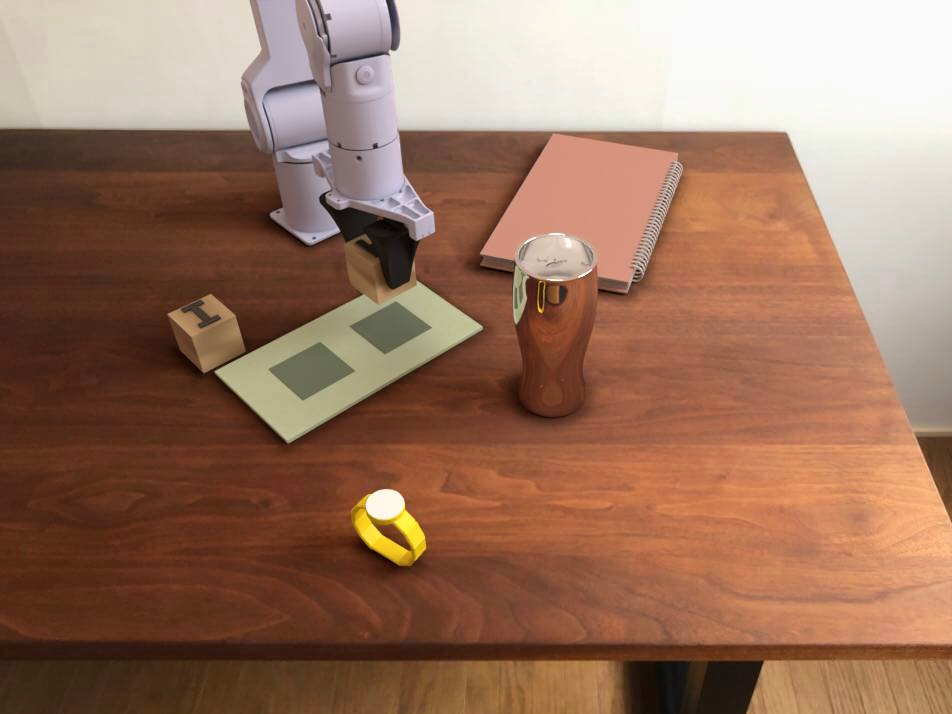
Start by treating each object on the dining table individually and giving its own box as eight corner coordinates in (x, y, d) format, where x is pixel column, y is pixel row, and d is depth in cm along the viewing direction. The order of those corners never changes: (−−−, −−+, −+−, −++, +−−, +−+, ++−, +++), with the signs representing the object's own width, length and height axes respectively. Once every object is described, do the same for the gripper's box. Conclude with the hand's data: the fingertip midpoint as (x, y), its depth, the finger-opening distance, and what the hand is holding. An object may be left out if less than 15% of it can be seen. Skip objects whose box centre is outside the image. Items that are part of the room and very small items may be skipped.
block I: (222, 330, 86) (210, 291, 83) (246, 351, 84) (235, 313, 81) (180, 350, 84) (166, 312, 81) (203, 373, 82) (190, 335, 78)
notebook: (637, 297, 90) (638, 281, 89) (480, 267, 94) (479, 251, 92) (685, 167, 109) (687, 152, 108) (553, 145, 112) (553, 131, 111)
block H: (388, 264, 85) (382, 223, 81) (417, 285, 82) (412, 243, 79) (349, 284, 82) (342, 242, 79) (378, 305, 80) (372, 263, 77)
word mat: (406, 275, 93) (405, 272, 92) (482, 329, 86) (482, 325, 86) (215, 374, 82) (213, 370, 81) (287, 444, 75) (286, 440, 75)
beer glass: (501, 379, 81) (498, 241, 71) (570, 360, 83) (577, 223, 73) (531, 430, 77) (532, 290, 66) (603, 408, 79) (616, 269, 68)
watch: (349, 548, 68) (337, 498, 64) (372, 523, 70) (362, 473, 65) (412, 583, 66) (404, 534, 61) (434, 557, 67) (428, 507, 63)
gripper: (271, 118, 74) (300, 255, 83) (377, 185, 66) (395, 327, 76) (342, 92, 77) (362, 226, 87) (450, 153, 70) (459, 292, 79)
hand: (382, 271), depth 81 cm, fingers closed on block H, 4 cm apart
